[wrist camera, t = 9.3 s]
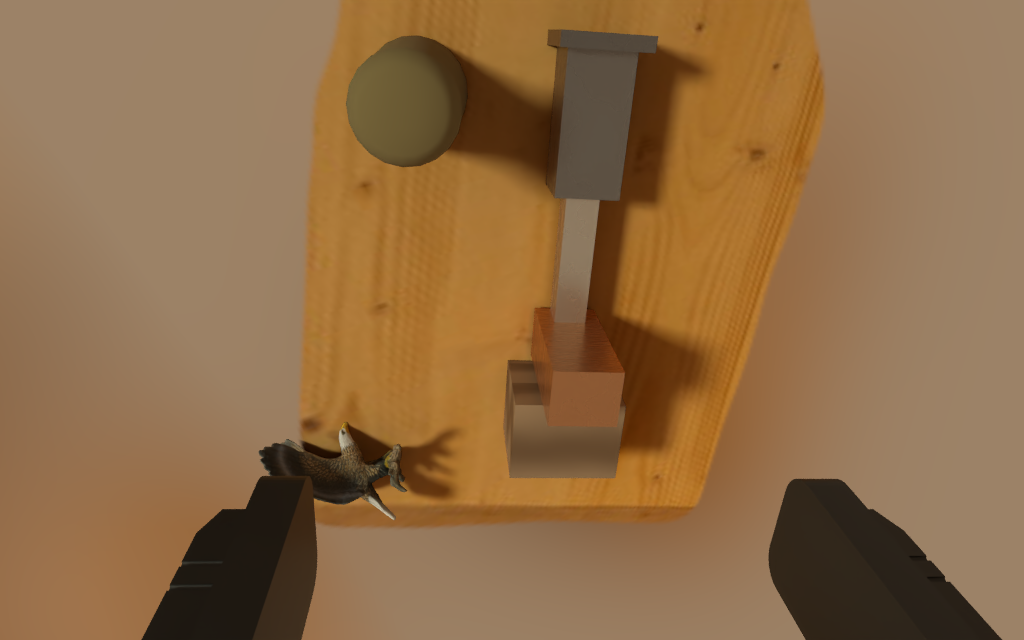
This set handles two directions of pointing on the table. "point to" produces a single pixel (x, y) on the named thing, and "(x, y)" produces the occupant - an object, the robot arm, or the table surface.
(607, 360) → the bar
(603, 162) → the sleeve
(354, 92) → the olive green pawn
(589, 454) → the socket block
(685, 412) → the table surface
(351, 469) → the eagle figurine
